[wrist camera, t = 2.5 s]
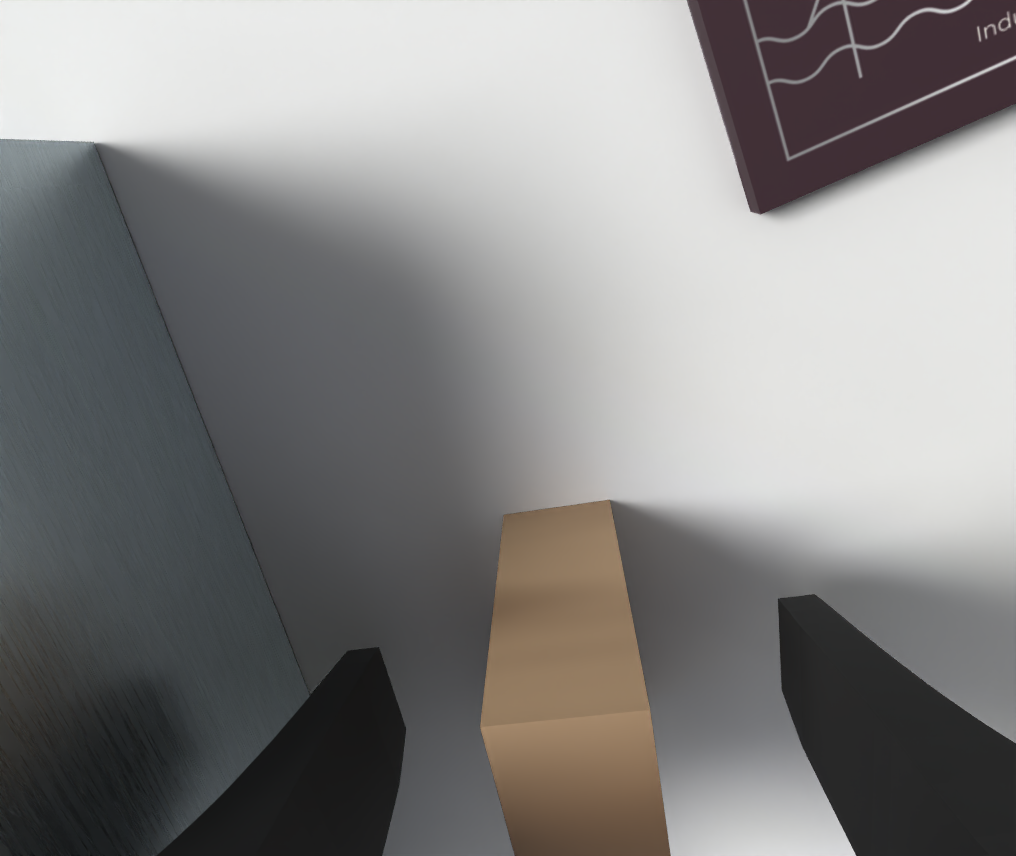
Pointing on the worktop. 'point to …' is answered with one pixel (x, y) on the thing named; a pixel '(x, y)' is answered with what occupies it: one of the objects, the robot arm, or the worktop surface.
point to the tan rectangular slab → (569, 692)
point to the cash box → (113, 543)
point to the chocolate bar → (848, 82)
